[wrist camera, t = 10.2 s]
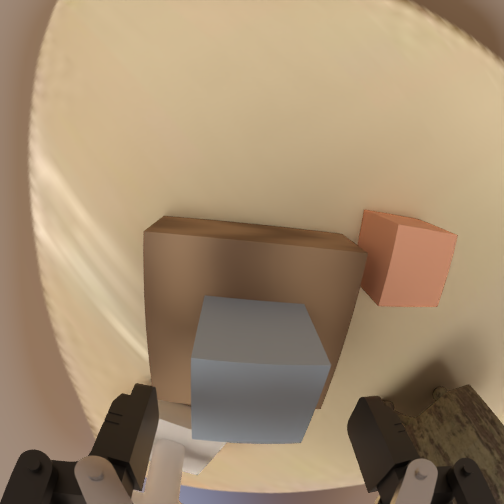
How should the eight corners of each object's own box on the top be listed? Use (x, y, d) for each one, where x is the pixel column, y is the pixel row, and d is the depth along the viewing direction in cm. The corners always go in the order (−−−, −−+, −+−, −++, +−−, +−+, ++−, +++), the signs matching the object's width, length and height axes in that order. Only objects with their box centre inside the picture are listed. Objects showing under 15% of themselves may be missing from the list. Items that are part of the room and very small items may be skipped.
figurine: (133, 371, 20) (73, 537, 6) (241, 410, 22) (248, 575, 8) (119, 417, 22) (77, 547, 8) (210, 449, 24) (205, 580, 9)
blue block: (304, 303, 14) (331, 365, 10) (286, 377, 16) (301, 442, 11) (204, 295, 14) (191, 357, 9) (201, 371, 16) (191, 439, 11)
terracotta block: (417, 219, 18) (457, 235, 13) (403, 279, 19) (437, 306, 15) (363, 209, 17) (398, 224, 13) (350, 275, 19) (378, 306, 14)
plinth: (342, 234, 18) (368, 253, 14) (308, 372, 21) (320, 408, 17) (164, 216, 17) (143, 231, 13) (165, 362, 20) (153, 399, 16)
